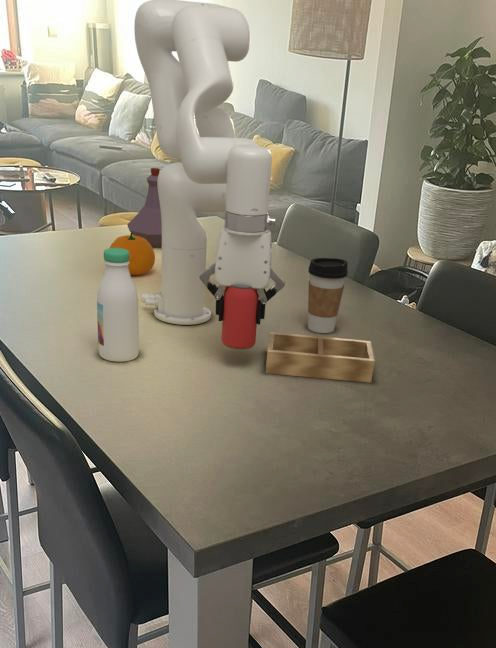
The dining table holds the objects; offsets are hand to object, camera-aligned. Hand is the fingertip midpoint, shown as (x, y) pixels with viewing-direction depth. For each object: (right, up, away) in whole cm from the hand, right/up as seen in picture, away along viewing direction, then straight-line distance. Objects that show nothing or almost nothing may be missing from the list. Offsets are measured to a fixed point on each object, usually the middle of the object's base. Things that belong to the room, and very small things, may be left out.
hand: (239, 319), depth 147 cm
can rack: (+15, -8, +7) cm, 18 cm away
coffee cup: (+17, +4, +26) cm, 32 cm away
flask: (-26, +41, +77) cm, 91 cm away
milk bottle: (-24, -6, +4) cm, 25 cm away
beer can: (0, -4, +3) cm, 5 cm away
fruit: (-29, +25, +51) cm, 64 cm away
